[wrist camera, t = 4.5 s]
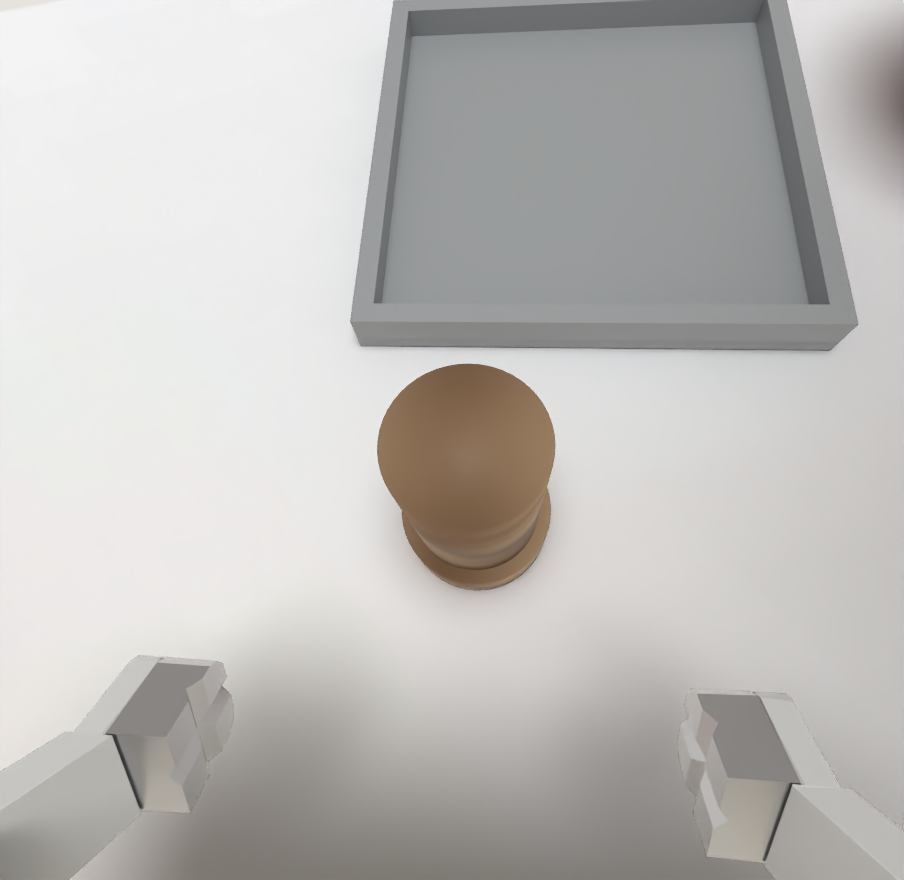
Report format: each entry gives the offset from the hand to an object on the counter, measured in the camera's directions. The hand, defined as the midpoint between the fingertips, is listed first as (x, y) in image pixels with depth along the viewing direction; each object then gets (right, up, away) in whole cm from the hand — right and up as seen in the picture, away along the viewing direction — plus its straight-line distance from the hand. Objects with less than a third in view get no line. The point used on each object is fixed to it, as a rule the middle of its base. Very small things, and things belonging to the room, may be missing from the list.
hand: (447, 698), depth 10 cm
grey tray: (+6, +17, +15) cm, 23 cm away
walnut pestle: (+1, +2, +10) cm, 10 cm away
